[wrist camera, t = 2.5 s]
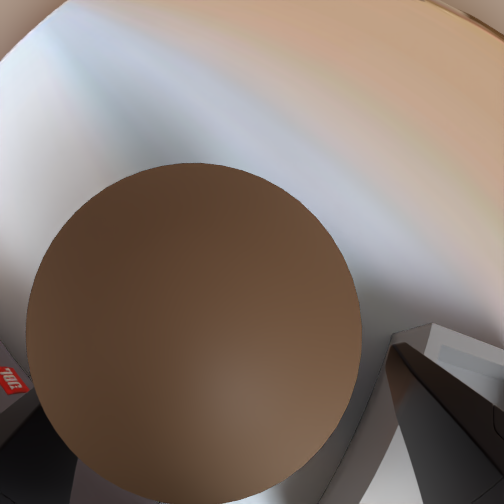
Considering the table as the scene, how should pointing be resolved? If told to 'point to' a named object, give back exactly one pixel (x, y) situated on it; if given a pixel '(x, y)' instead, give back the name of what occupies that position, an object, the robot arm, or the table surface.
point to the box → (387, 428)
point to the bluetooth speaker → (85, 480)
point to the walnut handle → (194, 334)
